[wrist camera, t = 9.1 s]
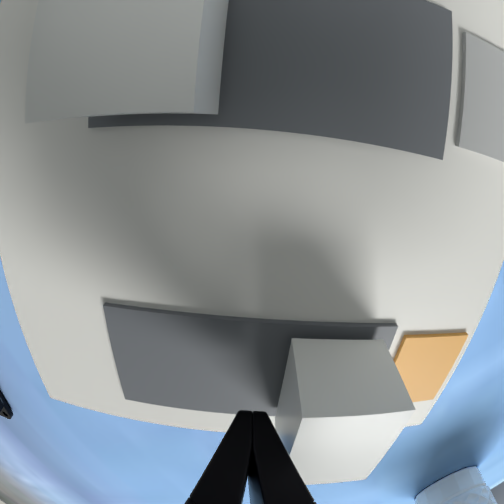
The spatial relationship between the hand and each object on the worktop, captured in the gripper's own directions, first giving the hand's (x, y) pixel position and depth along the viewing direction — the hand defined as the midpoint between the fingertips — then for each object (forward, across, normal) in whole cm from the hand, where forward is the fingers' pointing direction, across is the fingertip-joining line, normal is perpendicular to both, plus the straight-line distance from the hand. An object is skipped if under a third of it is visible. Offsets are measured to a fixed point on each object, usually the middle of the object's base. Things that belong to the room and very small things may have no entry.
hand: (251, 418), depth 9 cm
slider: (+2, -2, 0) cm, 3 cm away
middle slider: (+2, +3, -10) cm, 10 cm away
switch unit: (+3, 0, -10) cm, 10 cm away
